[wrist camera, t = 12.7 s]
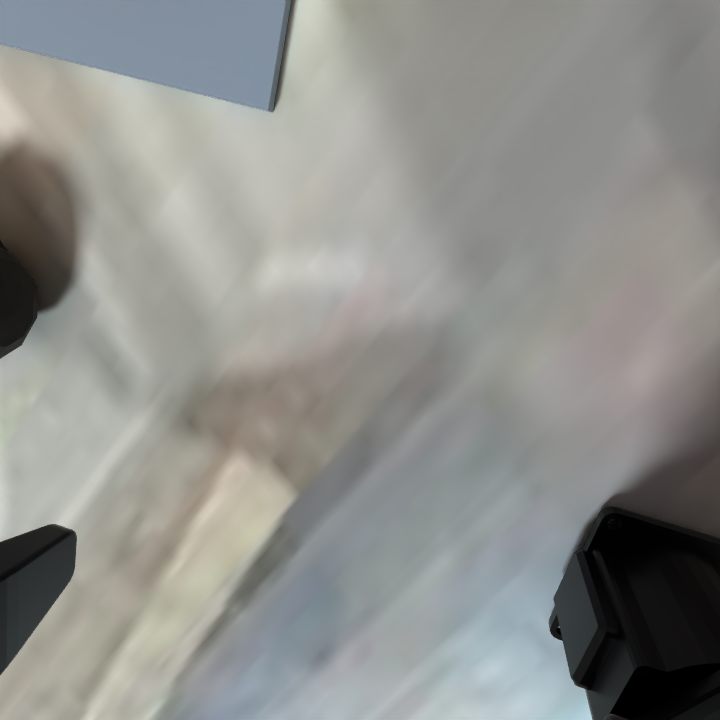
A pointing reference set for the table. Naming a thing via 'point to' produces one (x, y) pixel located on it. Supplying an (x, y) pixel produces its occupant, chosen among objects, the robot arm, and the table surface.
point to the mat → (161, 41)
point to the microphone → (15, 302)
